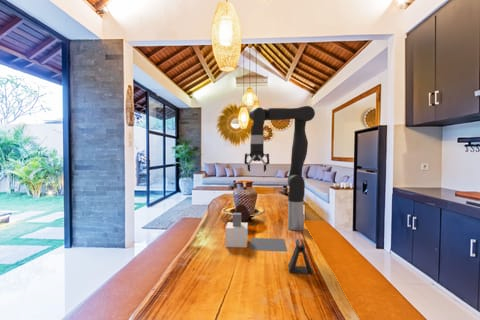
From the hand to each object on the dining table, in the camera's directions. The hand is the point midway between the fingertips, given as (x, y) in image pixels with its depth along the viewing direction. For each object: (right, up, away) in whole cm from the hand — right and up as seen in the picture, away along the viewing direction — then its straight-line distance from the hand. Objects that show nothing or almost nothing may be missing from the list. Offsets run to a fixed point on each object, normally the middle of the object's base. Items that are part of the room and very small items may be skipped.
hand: (256, 171), depth 155 cm
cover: (-11, -37, -16) cm, 42 cm away
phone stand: (+15, -38, -46) cm, 61 cm away
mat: (+5, -37, -17) cm, 41 cm away
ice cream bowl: (-8, -36, +14) cm, 39 cm away
